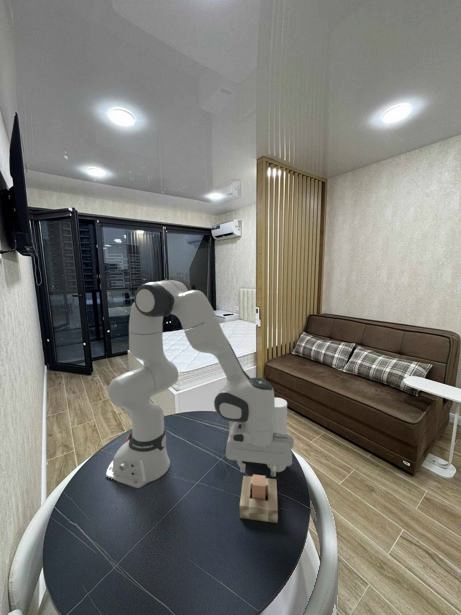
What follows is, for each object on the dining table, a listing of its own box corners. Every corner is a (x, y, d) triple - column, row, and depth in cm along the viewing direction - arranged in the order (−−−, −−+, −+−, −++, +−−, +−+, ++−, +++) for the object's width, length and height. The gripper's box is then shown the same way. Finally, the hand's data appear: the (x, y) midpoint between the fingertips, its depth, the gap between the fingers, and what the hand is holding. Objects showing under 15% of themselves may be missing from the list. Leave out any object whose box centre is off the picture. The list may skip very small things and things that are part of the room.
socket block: (239, 517, 71) (239, 505, 71) (243, 486, 82) (243, 475, 82) (277, 523, 70) (277, 510, 69) (276, 490, 80) (276, 479, 80)
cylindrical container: (286, 473, 87) (287, 408, 85) (266, 470, 89) (266, 406, 86) (285, 459, 94) (286, 398, 91) (267, 456, 96) (267, 396, 93)
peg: (252, 508, 74) (252, 484, 73) (252, 496, 78) (252, 474, 77) (265, 510, 73) (265, 486, 73) (265, 498, 77) (265, 475, 76)
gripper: (292, 428, 75) (291, 469, 77) (227, 422, 78) (227, 461, 79) (295, 442, 69) (293, 485, 70) (224, 434, 72) (224, 476, 73)
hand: (257, 472), depth 75 cm, fingers open, 8 cm apart
